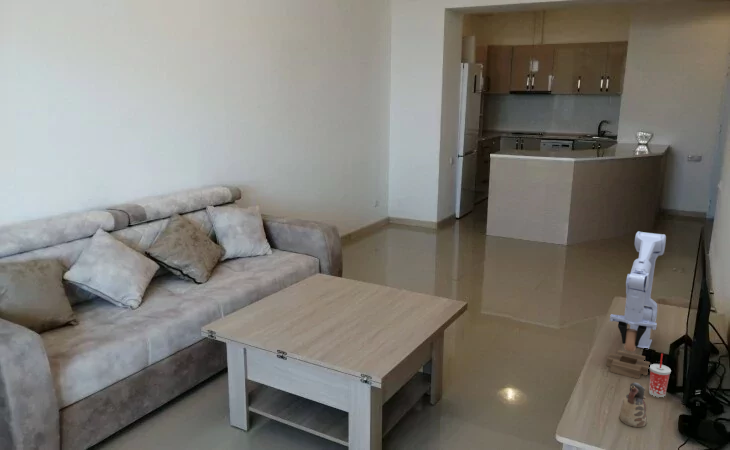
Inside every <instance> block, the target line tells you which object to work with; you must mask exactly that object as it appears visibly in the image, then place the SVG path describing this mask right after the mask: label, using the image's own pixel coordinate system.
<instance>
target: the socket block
mask: <svg viewBox="0 0 730 450" xmlns="http://www.w3.org/2000/svg"><path fill="white" fill-rule="evenodd" d="M644 360H645V361H644ZM649 365H651V362H650V361H647V360H646V356H645V355H641V354H636V353H634V352H632V353H631V352H629V351H622V350H619V349H618V350H617V352H616V353H611V352H610V353H609V354H608V355H607V359H606V367H609V368H610V371H609V372H610V373H613V374H616V375H617V374H618V375H621V376H625V377H629V378H634V379H636V380H637V379H638V380H639V379H640V377H641V375H642V374H643V375H642V376H646V375H647V376H648V374H649V372H648V369H649V370H650V367H649Z"/></svg>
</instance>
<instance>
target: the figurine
mask: <svg viewBox="0 0 730 450" xmlns="http://www.w3.org/2000/svg"><path fill="white" fill-rule="evenodd" d="M629 385H630V386H629V393H628V394H626V395H625V396H624V397H623V399H622V402H621V407H620V410H619V419H620V420H621V422H622V423H624V424H625V425H627V426H630V427H633V428H642V427H645V426H647V425H646V424H647V405H646V402H645V401H644V400H646V399H647V397H646V396H645V391H646V388H645V387H643V386H642V385H641V384H640V383H639V382H633V383H630V384H629Z"/></svg>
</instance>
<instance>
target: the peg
mask: <svg viewBox="0 0 730 450" xmlns="http://www.w3.org/2000/svg"><path fill="white" fill-rule="evenodd" d="M636 339H637V330H635V329H630V328H627V329H626V338H625V344H624V346H623V347H624V350H625V351H626V352H635V351H636V348H637V347H636V346H635V344H636Z"/></svg>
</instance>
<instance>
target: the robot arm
mask: <svg viewBox="0 0 730 450" xmlns="http://www.w3.org/2000/svg"><path fill="white" fill-rule="evenodd" d="M666 240H667V236H666V234H664V233H663V234H662V233H655V232H654V233H653V232H643V231H639V230H638V231H637V232H636V233H635V237H634V249H635V250H636V252H637V253H638V258H636V259H635V260H634V261H633V263H632V267H631V270H630V273H627V276H626V280H625V295H626V296H625V298H626V299H625V305H624V315H621V314H612V313H611V314H610V315H609V322H618V324H617V328H618V330H619V331H620V335H621V339H622V345H625V338H626V329H628V325H629V329H635V330H637V339H636V344H635V346H636V348H640V349H644V348H648V349H647V350H649V349H650V347H651V345H652V342H653V339H652V338H651V333H652V330H653V331H656V329H657V327H658V326H657V325H658V324H657V317H658V303H657V302H656V301H655V300H654V299H652V296H651V295H652V290H653V283H654V282H653V281H654V275H655V267H656V260H657V259H658V257H659V256H663V255H664V254H665V250H666V249H665V248H666V244H667V243H666V242H667V241H666ZM644 305H645V306H644ZM648 306H650V307H648ZM650 338H651V339H650Z"/></svg>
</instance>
